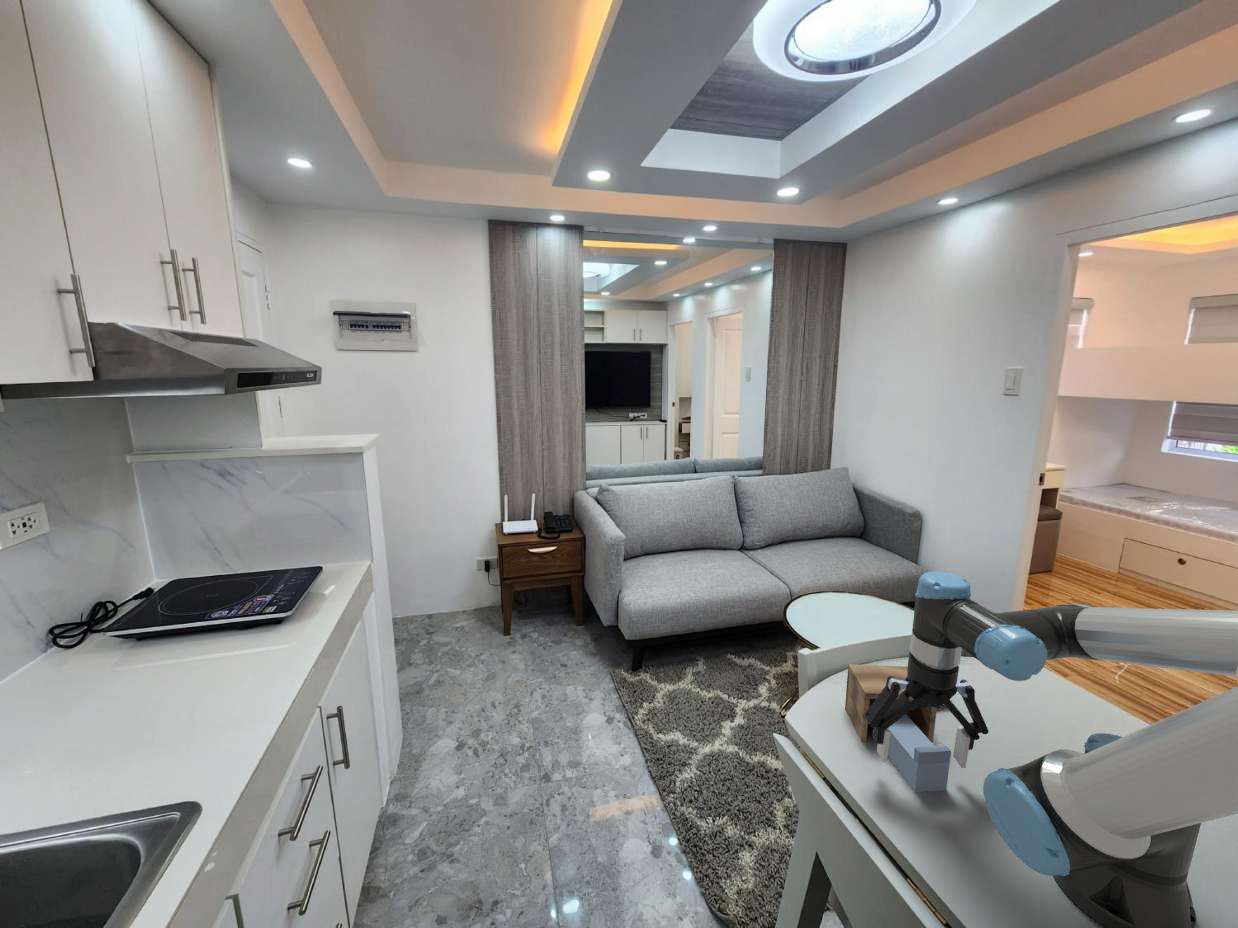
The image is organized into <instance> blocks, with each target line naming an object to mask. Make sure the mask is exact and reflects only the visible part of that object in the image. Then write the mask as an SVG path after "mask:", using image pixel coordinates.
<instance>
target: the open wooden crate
mask: <svg viewBox="0 0 1238 928" xmlns="http://www.w3.org/2000/svg"><path fill="white" fill-rule="evenodd" d="M847 665H848V666H847V677H846V688H845V689H846V690H845V693H846V694H845V706H844V709H845V711H846V712H847V715H848V718H849V719H850V721H851V723H852V725H853V727H854V729H855V731H856V733H857V735H858V737H859V739H860V741H863V742H867V735H868V725H869V723H868V721H867V719H866V717H865V713H866V712H867V711H868V709H869V708H870V707H871V705H872V704H873V702H874V701H875V700H876V698H877V697H878V696H879V694H880V693H881V692H882V690H883V689H884V687H885V686H886V682H887V678H888V677H889V676H893V677H894V678H895V679H896V680H902V681H904V680H905V679H906V678H907V667H908V666H902V665H901V666H900V665H899V666H898V665H897V666H896V665H875V664H854V663H848V664H847ZM904 690H905V689H903V690H902V691H901V692H903V691H904ZM899 697H900V694H898V696H897V698H896V699H898V698H899ZM909 698H910V700H911V701H912V700H913V698H912V697H911V696H910V697H909ZM937 709H938V708H935V707H931V706H930V707H921V706H918V707H917V708H916V709H914V710H912V709H911V710H910V711H908V712H907V713H906V715H907V716H908V717H909V718H910V719H911V720H912V721H913V723H914V724H915V725H916V726H917V727H918V728H919V729H920V730H921V731H922V733H923V734H924V735H925V736H926V737H927V738H928V739H929V740H930V741H931V742H932V744H933V745H934V738H935V737H934V736H935V730H936V729H935V728H936V727H935V726H936V718H937Z"/></svg>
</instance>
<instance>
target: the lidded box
mask: <svg viewBox="0 0 1238 928" xmlns="http://www.w3.org/2000/svg"><path fill="white" fill-rule="evenodd" d="M874 729H875V727H872V737H873V738H874ZM888 729H889V731H890V740H889V749H888V759H890V761H891V763H892V764H893V765H894V767H895V768H896V769H897V771H898V772H899V773H900V775H901V776H902V778H903V779H904V780H905V782H907V784H908V785H909V787H910V788H911V789H912V791H913V792H914V793H918V792H920V793H921V792H936V791H939V792H940V791H946V790H947V787H948V780H949V773H950V765H951V764H950V763H951V755H952V750H951V749H950V748H949V747H948V746H947V745H939V746H936V745H935V744H934V743H933V744H932V742H931V741H930V740H929V739H928V738H927V737H926V736H925V735H924V734H923V733H922V731H921V730H920V729H919V728H918V727H917V726H916V725H915V724H914V723H913V721H912V720H911V719H910V718H909V716H908V715H906V714H905V715H904V716H902V717H901V718H900V719H899V720H897V721H896V722H895V723H894V724H892V725H891V726H890V727H889V728H888ZM874 740H875V738H874Z"/></svg>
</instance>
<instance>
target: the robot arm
mask: <svg viewBox="0 0 1238 928" xmlns="http://www.w3.org/2000/svg"><path fill="white" fill-rule="evenodd" d="M914 595H915V596H914V597H915V601H914V603H915V604H914V609H913V610H914V612H913V621H912V630H911V638H910V645H909V653H908V659H907V666H906V667H907V678H906V679H905V680H904V681H902V680H896V679H895V678H894V677H893V676H889V677H888V678H887V682H886V686H885V687H884V689H883V690H882V692H881V693H880V694H879V696H878V697H877V698H876V700H875V701H874V702H873V704H872V705H871V707H870V708H869V709H868V711H867V712H866V713H865V717H866V719H867V721H868V725H869V727H870V728H873V727H875V729H874V738H875V739H874V740H875V741H876V743H877V744H876V745H877V746H876V747H877V748H876V752H877V754H878V755H879V759H880V760H881V762H882V763H888V759H889V757H888V749H889V740H890V731H889V729H888V728H889V727H890V726H891V725H892V724H894V723H895V722H896V721H897V720H899V719H900V718H901V717H902V716H904V715H905V714H906V713H907V712H908V711H910V710H911V709H912V710H914V709H916V708H917V707H918V706H921V707H930V706H931V707H935V708H937V709H941V707H943V706H945V707H946V709H947V710H948V711H949V712H950V713H951V714H952V716H954V718H955V719H956V720H957V721H958V722H959V724H960V725H961V726H960V725H959V726H957V729H956V734H955V741H954V749H953V758H954V760H955V761H956V763H957V764H958V765H959V767H960V768H961V769H966V767H967V762H968V761H967V760H968V755H969V750H970V751H972V750H973V749H974V745H975V741H978V740H980V739H981V738H980V734H983V735H987V734H989V728H988V726H987V724H986V721H985V720H984V718H983V715H982V713H981V710H980V708H979V706H978V703H977V701H976V698H975V697H976V695H975V694H976V689H974V687H973V686H972V685H971V684H970V683H969V682H968V681H967V680H966V679H961V680H959V682H958V676H959V671H960V666H959V665H960V664H961V659H962V658H961V657H962V650H964V651H965V652H967V653H968V654H969V655H971V656H972V657H973V658H975V659H976V660H977V661H978V662H980V663H981V664H982V665H984V666H985V667H986V668H988V669H989V670H993V671H994V672H996V673H998V674H999V675H1001V676H1002V677H1004V678H1006V679H1007V680H1011V681H1015V682H1024V681H1028V680H1030V679H1031V678H1032V676H1037V675H1038V674H1039V673H1040V672H1042V670H1043V668H1044V667H1045V665H1046V663H1047V661H1050V660H1056V659H1057V660H1058V659H1065V658H1066V659H1068V658H1074V659H1083V660H1084V659H1085V660H1090V661H1091V660H1092V661H1093V660H1094V661H1103V662H1104V661H1105V662H1112V663H1113V662H1114V663H1120V664H1128V665H1136V666H1145V667H1154V668H1163V669H1169V670H1177V671H1185V672H1186V671H1187V672H1197V673H1201V674H1203V673H1204V674H1210V675H1211V674H1213V675H1220V676H1226V677H1227V676H1228V677H1236V678H1235V679H1236V682H1237V684H1238V610H1237V609H1236V610H1229V609H1228V610H1227V609H1226V610H1225V609H1188V608H1187V609H1182V608H1149V607H1148V608H1147V607H1146V608H1145V607H1144V608H1141V607H1140V608H1139V607H1099V606H1098V607H1097V606H1095V607H1093V606H1090V605H1087V604H1081V603H1079V604H1074V603H1073V604H1072V603H1067V604H1065V603H1064V604H1057V605H1055V606H1048V607H1040V608H1034V609H1033V608H1032V609H1022V610H1015V611H1005V612H993V611H992V610H990V609H988V608H987V607H985V606H983V605H981V604H979V603H977V602H976V601H974V600H972V599H971V595H972V593H971V585H970V583H969V582H968V581H967V579H965V578H963V577H961V576H960V575H957V574H954V573H950V572H946V571H938V570H937V571H927V572H924V573H923V574H921V575H920V576H919V579H918V583H917V588H916V593H915V594H914ZM903 689H905V690H904V691H903V692H901V691H902V690H903ZM957 692H958V694H959V695H960V696H961V697H962V700H963V702H964V704H965V706H966V708H967V710H968V714H969V716H970V717H971V720H972V722H969V720H967V718H966V717H965V715H963V714H962V713H961V711H960V709H958V708H957V707H956V705H955V704H954V703H953V702H952V700H951V699H952V698H953V697H954V696H955V695H956V694H957ZM898 694H900V697H899V698H898V699H896V698H897V696H898ZM910 696H911V697H912V698H913V700H912V701H911V700H910V698H909V697H910ZM1083 747H1084V752H1083V753H1082V752H1079V751H1076V750H1073V749H1057V750H1054V751H1051V752H1049V753H1046V754H1045V755H1042V756H1040V757H1037V758H1036V759H1033V760H1031V761H1030V762H1027V763H1025V764H1023V765H1017V766H1015V767H1009V768H1004V767H1000V768H998V769H997V770H995V771H992V772H990V773H988V774H987V776H985V778H984V781H983V787H982V791H983V795H984V804H985V806H986V809H987V812H988V815H989V817H990V819H991V821H992V824H993V825H994V827H995V829H996V830H997V832H998V834H999V836H1000V837H1001V839H1002V840H1003V841H1004V843H1005V844H1006V846H1007V847H1008V848H1009V849H1010V850H1011V852H1012V853H1013V854H1014V856H1016V857H1017V858H1019V859H1020V860H1021V862H1023V864H1025V866H1027V867H1028V868H1030V869H1031V870H1033V871H1034V872H1036V873H1038V874H1041V875H1043V876H1047V877H1051V876H1052V877H1053V878H1054V880H1055V882H1056V883H1057V884H1058V886H1059V887H1060V889H1061V890H1062V891H1063V892H1064V894H1065V895H1066V896H1067V897H1068V898H1069V899H1070V900H1071V901H1072V903H1074V904H1075V906H1077V907H1078V909H1080V910H1081V911H1082V912H1084V913H1085V914H1086V915H1087V916H1088V917H1090V918H1091V919H1092V920H1094V921H1095V922H1097V923H1098V924H1100V925H1101V926H1102V927H1104V928H1198V917H1197V915H1196V910H1195V908H1194V903H1193V899H1192V895H1191V891H1190V890H1191V889H1190V886H1189V882H1188V875H1189V873H1190V872H1189V871H1190V868H1191V863H1192V859H1193V857H1194V851H1195V848H1196V844H1197V840H1198V837H1199V833H1200V829H1201V826H1202V824H1203V823H1206V822H1209V821H1214V820H1218V819H1221V818H1225V817H1230V816H1234V815H1238V686H1236V687H1233V688H1231V689H1229V690H1226V691H1224V692H1222V693H1219V694H1217V695H1215V696H1212V697H1211V698H1208V699H1205V700H1204V701H1202V702H1199V703H1197V704H1195V705H1193V706H1190V707H1188V708H1186V709H1184V710H1182V711H1179V712H1177V713H1175V714H1172V715H1170V716H1168V717H1166V718H1163V719H1160V720H1159V721H1156V722H1154V723H1152V724H1149V725H1147V726H1145V727H1142V728H1141V729H1138V730H1136V731H1134V732H1131V733H1129V734H1127V735H1125V736H1121V735H1116V734H1111V733H1106V732H1105V733H1102V732H1098V733H1093V734H1091V735H1089V736H1088V738H1087V739H1086V741H1085V742H1084V745H1083Z"/></svg>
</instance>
